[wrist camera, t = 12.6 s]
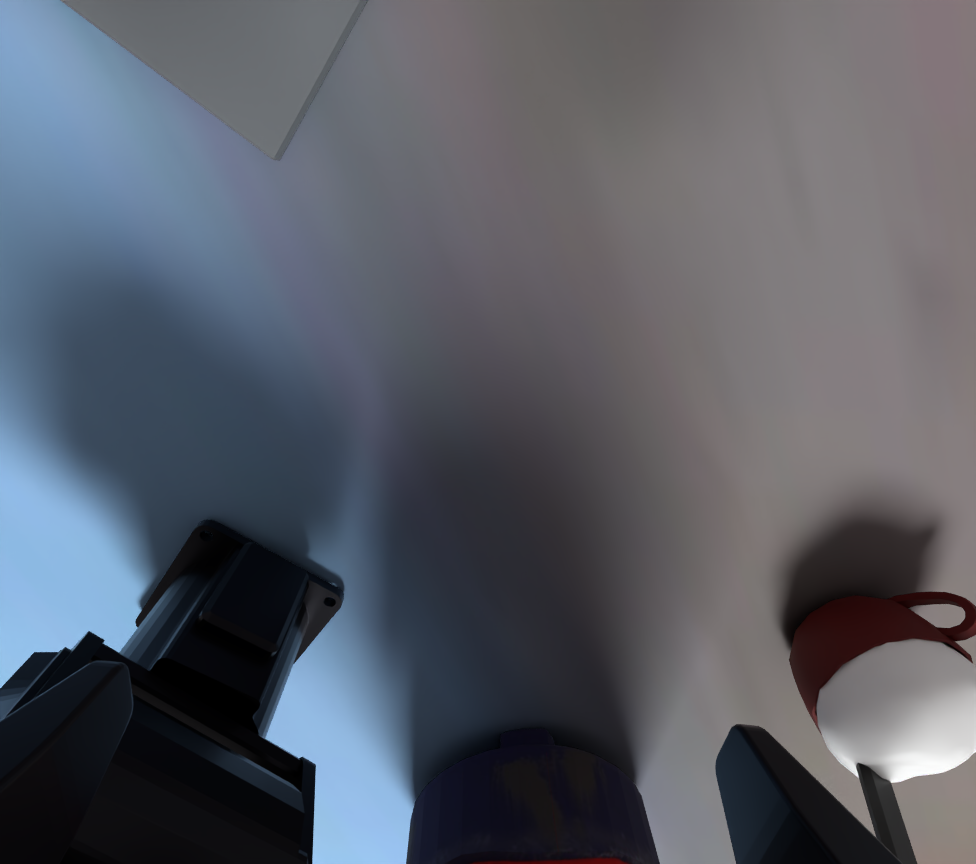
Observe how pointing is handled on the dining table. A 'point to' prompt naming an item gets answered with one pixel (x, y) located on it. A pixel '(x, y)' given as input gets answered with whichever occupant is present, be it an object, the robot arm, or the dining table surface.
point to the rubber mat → (235, 54)
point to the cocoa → (888, 695)
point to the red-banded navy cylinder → (531, 809)
